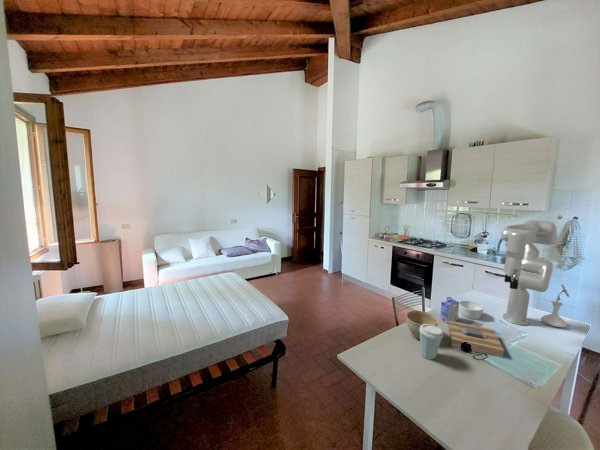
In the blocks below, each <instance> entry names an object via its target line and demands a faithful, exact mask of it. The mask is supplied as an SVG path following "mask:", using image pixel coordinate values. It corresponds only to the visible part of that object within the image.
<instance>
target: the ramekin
mask: <svg viewBox="0 0 600 450" xmlns="http://www.w3.org/2000/svg"><path fill="white" fill-rule="evenodd" d="M458 302H459V311H458V312H459V313H460V315H461V316H462V317H465V318H467V319H470V320H479V319H480V318H481V317H482V314H483V311H484V306H482V305H481V304H480V303H477V302H475V301H471V300H461V301H458Z"/></svg>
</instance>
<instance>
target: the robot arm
mask: <svg viewBox="0 0 600 450" xmlns="http://www.w3.org/2000/svg"><path fill="white" fill-rule="evenodd" d="M557 229H558V228H557V226H556V223H554V222H553V221H550V220H549V221H548V220H538V219H529V220H526V221H525V222H523V223H521V224H520V223H519V224H513V225H512V224H510V225H508V226H506V227H504V228H503V229H502V231H501V234H500V237H501V239H502V241H504V242H507V245H506V253H505V257H506V258H505V262H504V267H503V272H504V280H503V281H504V283H509V295H508V301H507V309H506V313H504V314H503V315H502V318H503V319H504V320H505V321H507V322H509V323H511V324H514V325H517V326H518V325H519V326H528V325H529V324H530V320H528V319H527V315H528V309H529V303H530V298H531V295H530V293H529V291H528V290H531V291H534V292H535V291H536V292H540V293H544V292H546V291H548V289H549V285H550V281H551V277H552V274H553V269H554V265H553V262H552V261H550V260H548V259H544V258H539V257H540V250H539V249H538V248H537V247H536V245H535V244H539V245H545V246H553V245H555V244H556V243H557V240H558V231H557Z"/></svg>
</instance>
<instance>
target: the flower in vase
mask: <svg viewBox="0 0 600 450" xmlns="http://www.w3.org/2000/svg"><path fill="white" fill-rule="evenodd" d="M561 288H562V291H561V292H560V293H558V295H557V298H556V300H552V301H551V303H552V306H553V307H552V308H553V309H552V313H549V314H545V315H542V316H541V318H540V319H541V321H542V322H543V323H545V324H547V325H549V326H552V327H556V328H566V327H568V324H567V322H566V321H565V320H564V319H563V318H562V317H561V316H560V315H559V310H560V308H561V306H564V304H563V303H562V302H560V301H561V298H560V295H561V294H562V293H564V294H565V295H566V297H567V298H570V294H569V293H568V290H567V289H566V287H565V286H564V284H561Z"/></svg>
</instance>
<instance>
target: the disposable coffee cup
mask: <svg viewBox="0 0 600 450" xmlns="http://www.w3.org/2000/svg"><path fill="white" fill-rule="evenodd" d="M419 331H420V339H419V342H420V343H419V344H420V345H419V346H420V354H421V356H422V357H424V358H425V359H427V360H434V359H436V356H437V354H438V351H439V348H440V345H441V341H442V338H443V337H444V332H443V330H442V329H441V328H440V327H438V326H437V327H436V326H434V325H430V324H423V325H421V326H420V329H419Z"/></svg>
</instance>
